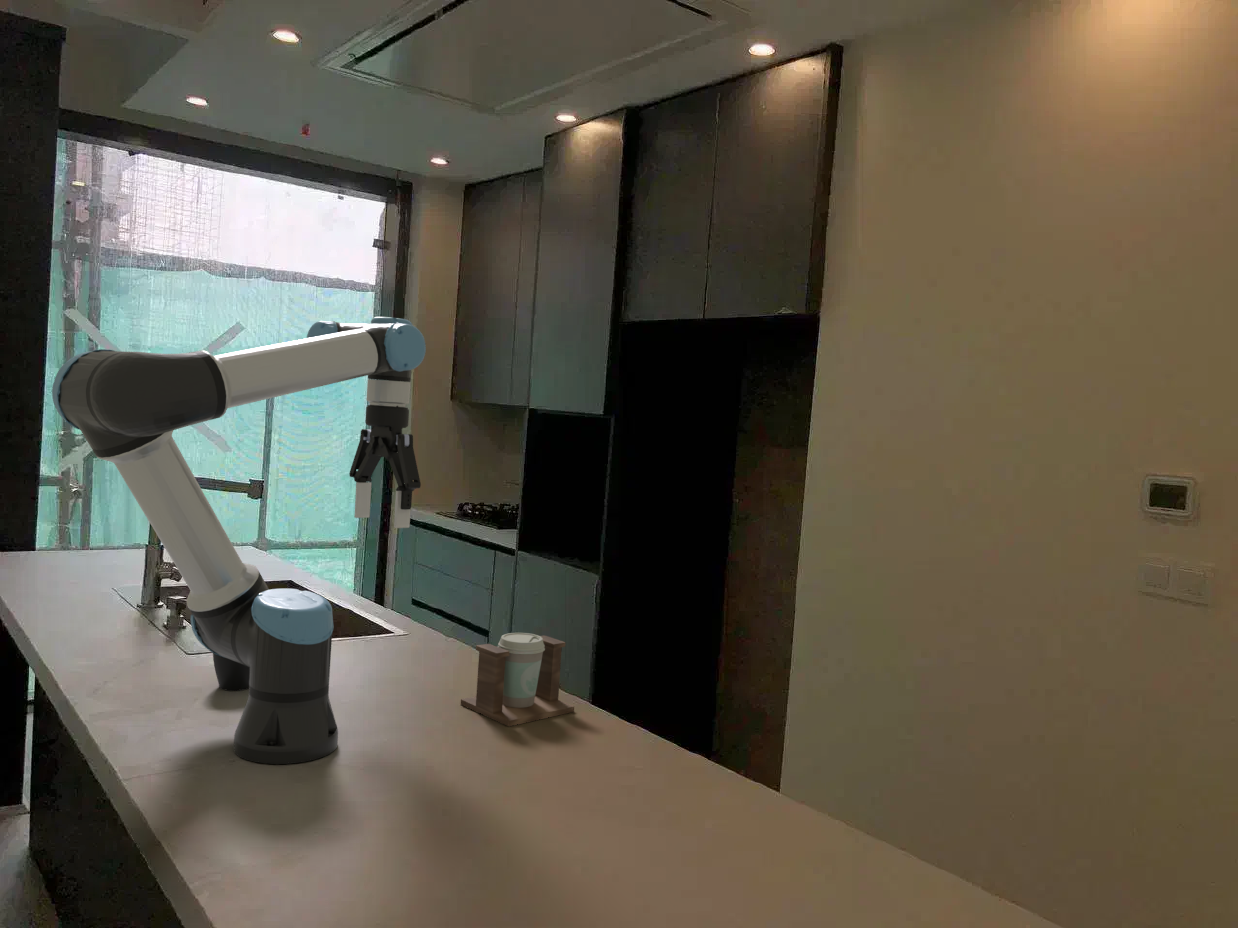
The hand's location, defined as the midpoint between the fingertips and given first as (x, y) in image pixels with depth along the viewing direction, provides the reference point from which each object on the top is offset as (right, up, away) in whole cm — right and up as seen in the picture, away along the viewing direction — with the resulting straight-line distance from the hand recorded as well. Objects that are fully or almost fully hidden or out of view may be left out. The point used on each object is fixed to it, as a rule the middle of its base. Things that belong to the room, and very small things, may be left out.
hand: (381, 522), depth 176 cm
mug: (-26, -30, +3) cm, 40 cm away
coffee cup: (+25, -33, 0) cm, 41 cm away
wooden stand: (+25, -34, 0) cm, 42 cm away
